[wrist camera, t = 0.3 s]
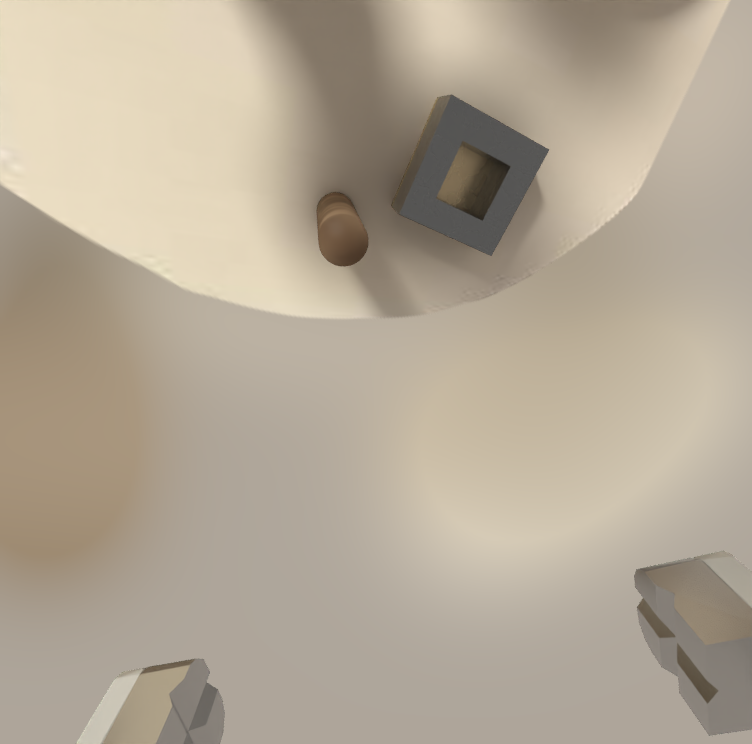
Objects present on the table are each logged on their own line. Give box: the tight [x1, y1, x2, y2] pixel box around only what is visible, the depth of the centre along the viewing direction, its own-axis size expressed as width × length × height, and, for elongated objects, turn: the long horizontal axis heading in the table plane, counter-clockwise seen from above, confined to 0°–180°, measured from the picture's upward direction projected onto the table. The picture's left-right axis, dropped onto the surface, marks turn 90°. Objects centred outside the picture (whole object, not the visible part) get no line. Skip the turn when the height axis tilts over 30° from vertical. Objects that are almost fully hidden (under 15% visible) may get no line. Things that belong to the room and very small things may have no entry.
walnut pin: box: [317, 192, 368, 266], centre depth 46 cm, size 4×4×15 cm
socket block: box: [391, 95, 549, 256], centre depth 49 cm, size 12×12×6 cm
